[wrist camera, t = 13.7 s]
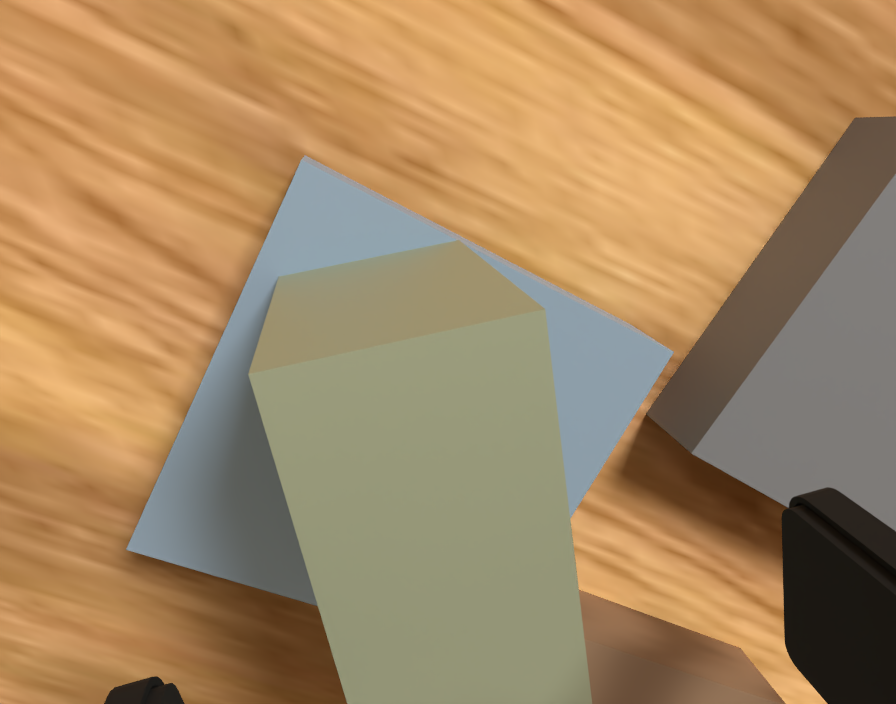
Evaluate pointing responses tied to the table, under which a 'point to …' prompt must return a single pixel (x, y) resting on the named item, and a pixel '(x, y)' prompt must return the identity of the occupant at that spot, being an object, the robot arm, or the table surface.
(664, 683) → the walnut block
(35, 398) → the table surface
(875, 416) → the charcoal block
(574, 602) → the olive brick
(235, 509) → the slate-blue block
